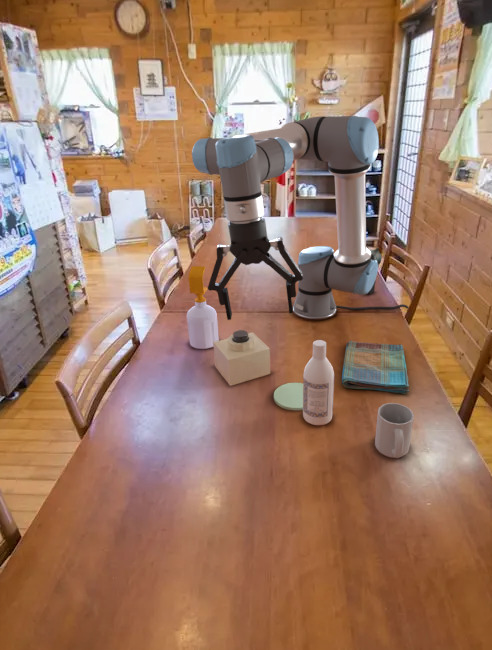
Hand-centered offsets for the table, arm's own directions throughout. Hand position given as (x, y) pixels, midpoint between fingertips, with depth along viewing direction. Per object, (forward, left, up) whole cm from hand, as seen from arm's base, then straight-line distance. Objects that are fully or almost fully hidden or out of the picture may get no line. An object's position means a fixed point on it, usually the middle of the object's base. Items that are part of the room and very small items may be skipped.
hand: (260, 314), depth 100 cm
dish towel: (-34, -10, -26) cm, 44 cm away
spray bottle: (+11, -37, -26) cm, 47 cm away
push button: (+2, -18, -16) cm, 24 cm away
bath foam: (-12, +7, -26) cm, 29 cm away
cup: (-24, +22, -26) cm, 41 cm away
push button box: (+2, -18, -25) cm, 31 cm away
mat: (-9, -2, -25) cm, 27 cm away
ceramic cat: (-50, -67, -26) cm, 88 cm away
